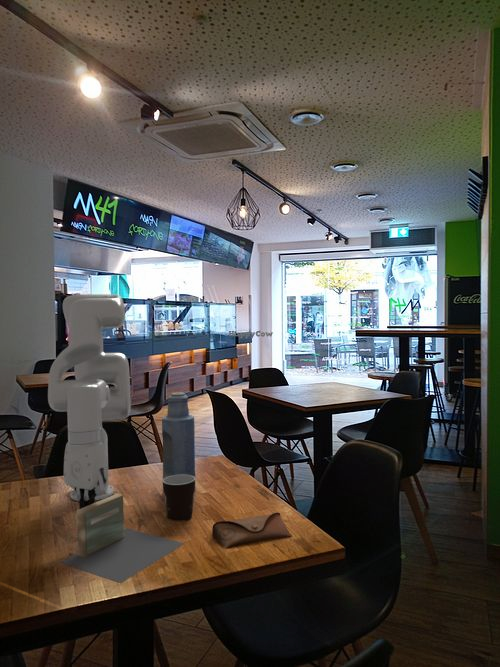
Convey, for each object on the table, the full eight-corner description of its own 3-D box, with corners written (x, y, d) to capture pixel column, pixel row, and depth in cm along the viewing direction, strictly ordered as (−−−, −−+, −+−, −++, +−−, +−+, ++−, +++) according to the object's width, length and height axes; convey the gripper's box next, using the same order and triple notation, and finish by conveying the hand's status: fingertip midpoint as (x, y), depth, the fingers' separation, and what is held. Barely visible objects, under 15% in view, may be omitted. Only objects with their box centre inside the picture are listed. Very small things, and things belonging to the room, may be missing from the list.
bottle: (157, 491, 153) (154, 393, 152) (185, 484, 159) (183, 389, 158) (172, 500, 145) (170, 396, 144) (201, 492, 151) (199, 393, 150)
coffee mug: (190, 524, 127) (189, 485, 127) (158, 522, 129) (157, 483, 129) (203, 507, 139) (202, 471, 138) (173, 506, 140) (173, 470, 140)
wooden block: (77, 555, 111) (76, 510, 110) (118, 535, 121) (117, 493, 121) (85, 557, 109) (84, 512, 109) (125, 537, 120) (124, 495, 119)
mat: (59, 563, 108) (59, 562, 108) (127, 529, 125) (127, 528, 125) (120, 585, 98) (120, 583, 98) (184, 545, 116) (184, 543, 116)
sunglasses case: (222, 549, 113) (217, 519, 116) (215, 554, 118) (210, 524, 121) (295, 536, 119) (288, 507, 122) (284, 540, 125) (278, 513, 128)
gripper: (50, 437, 118) (52, 515, 118) (95, 443, 110) (97, 527, 110) (76, 430, 124) (78, 504, 124) (120, 436, 116) (122, 515, 117)
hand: (87, 515), depth 117 cm, fingers closed
